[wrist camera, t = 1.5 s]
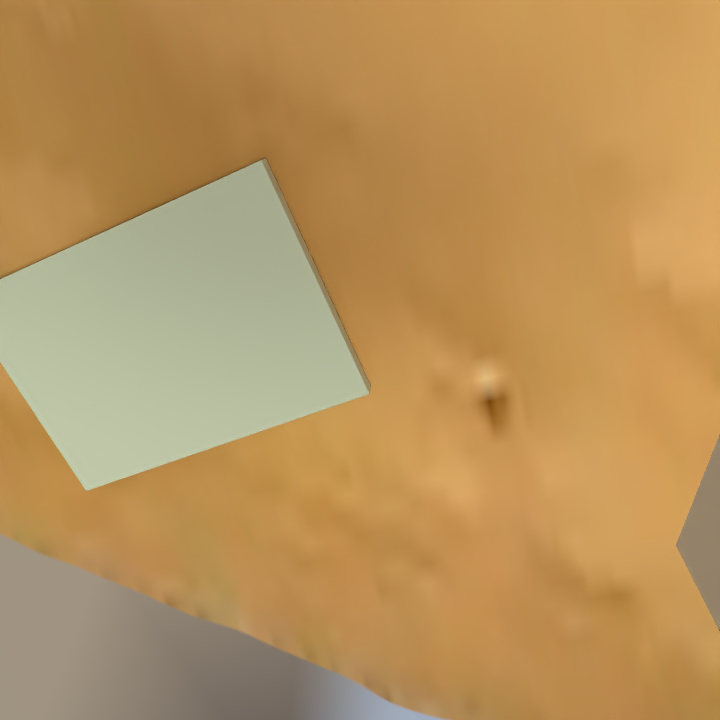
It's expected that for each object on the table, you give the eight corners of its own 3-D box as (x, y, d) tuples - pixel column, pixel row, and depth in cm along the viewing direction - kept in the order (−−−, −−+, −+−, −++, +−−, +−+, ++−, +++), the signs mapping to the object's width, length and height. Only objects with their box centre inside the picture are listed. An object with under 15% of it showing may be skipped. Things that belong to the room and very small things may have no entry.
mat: (-32, 293, 39) (-43, 298, 38) (265, 157, 34) (261, 160, 33) (93, 482, 43) (86, 490, 43) (370, 386, 39) (369, 393, 38)
